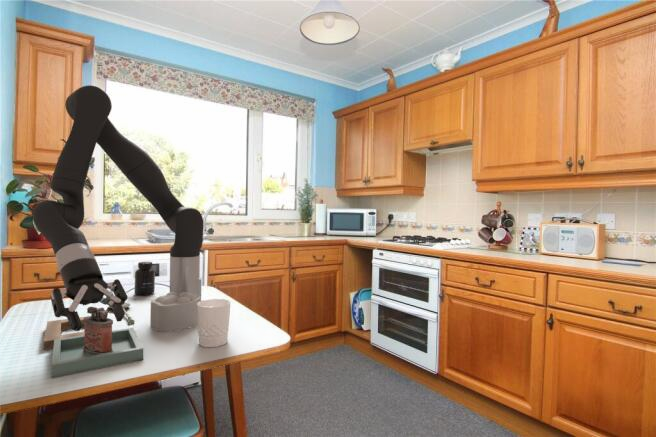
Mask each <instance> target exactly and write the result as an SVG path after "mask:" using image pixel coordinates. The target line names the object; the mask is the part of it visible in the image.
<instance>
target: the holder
mask: <svg viewBox="0 0 656 437" xmlns="http://www.w3.org/2000/svg"><path fill="white" fill-rule="evenodd" d="M88 316H89V315H87V316H82V317H81V316H79V318H80V321H81V323H82V327H81V328H85V322H84V318H85V317H88ZM64 330H72V329H71V327H70V324H69V321H68V319H67V318H62V319H55V320H49V321H47V322H46V327H45V333H44V339H43V350H44V351H46V350H53V348H54V340H55V339H62V338H68V337H75V336H82V335H84V334H85V331H80V332H79V331H77V332H74V333H73V332H72V333H65V334H62V331H64Z"/></svg>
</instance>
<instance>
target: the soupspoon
mask: <svg viewBox="0 0 656 437" xmlns="http://www.w3.org/2000/svg"><path fill="white" fill-rule="evenodd" d="M130 306H131V304H130V303H128V302H125V303H124V304H123V305H122V307H123V310H124V312H125V316H126V318H127V325H132V324H135V323H136V322H135V320H134V319H133V318H132V317H131V316H130V314H129V313H128V312H127V311H126V309H127V308H128V307H130ZM106 309H107V310H108V309H109V310H110V309H113V308H112V307H110V306H109V305H108V307H106Z"/></svg>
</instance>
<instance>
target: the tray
mask: <svg viewBox="0 0 656 437" xmlns="http://www.w3.org/2000/svg"><path fill="white" fill-rule="evenodd" d="M139 338H140V337H139V336H138V335H137V333H136V331H135V329H134V327H129V328H121V329H116V330H115V329H114V330H112V349H113V352H110V353H104V354H99V355H93V356H92V355H89V354H87V353H85V352H84V351H83V347H84V335H82V336H75V337H68V338H62V339H55V340H54V348H53V349H52V357H51V358H52V359H51V378H52V379H53V378H59V377H64V376H68V375H73V374H80V373H83V372H88V371H94V370H98V369H103V368H108V367H113V366H118V365H124V364H127V363H132V362H133V363H134V362H139V361H143V360H144V350H145V348H144V346H143V344H142V342H141V341H140V339H139Z"/></svg>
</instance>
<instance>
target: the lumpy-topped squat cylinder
mask: <svg viewBox="0 0 656 437" xmlns="http://www.w3.org/2000/svg"><path fill="white" fill-rule="evenodd" d="M200 301H202V296H201V297H200V296H197V295H195V294H191V293H188V292H183V293H181V294H179V295H178V294H177V293H174V292H170V291H169V292H168V293H167V294H164V295H160V296H158V297H156V298H154V299H152V300H151V301H150V328H151V329H154V330H156V331H157V332H158V333H166V334H167V333H173V332H177V331H182V330H186V329H190V328H193V327H196V326H198V316H197V303H198V302H200Z"/></svg>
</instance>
